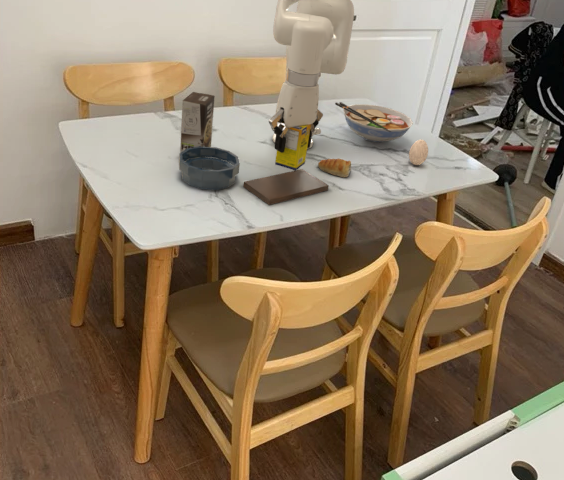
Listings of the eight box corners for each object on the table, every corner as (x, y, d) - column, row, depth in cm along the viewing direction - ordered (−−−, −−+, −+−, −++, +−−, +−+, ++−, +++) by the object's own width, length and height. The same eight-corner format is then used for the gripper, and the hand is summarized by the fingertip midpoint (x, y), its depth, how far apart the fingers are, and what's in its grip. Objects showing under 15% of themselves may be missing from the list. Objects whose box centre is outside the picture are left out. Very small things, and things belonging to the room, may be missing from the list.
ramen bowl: (424, 148, 197) (431, 124, 192) (372, 157, 185) (378, 131, 180) (373, 121, 213) (379, 98, 208) (323, 127, 201) (327, 103, 196)
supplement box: (305, 164, 156) (311, 123, 150) (295, 171, 152) (302, 129, 146) (284, 157, 158) (290, 117, 152) (274, 164, 153) (280, 123, 147)
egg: (413, 159, 188) (419, 135, 183) (427, 166, 185) (434, 141, 180) (402, 163, 184) (409, 138, 180) (417, 169, 181) (424, 144, 177)
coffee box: (201, 162, 165) (205, 104, 156) (179, 158, 166) (181, 100, 157) (211, 151, 173) (215, 95, 164) (190, 146, 173) (192, 90, 164)
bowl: (216, 162, 167) (217, 143, 164) (248, 184, 158) (250, 165, 155) (167, 171, 158) (168, 151, 155) (199, 195, 149) (200, 175, 146)
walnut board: (301, 173, 168) (302, 168, 167) (327, 190, 161) (328, 185, 160) (243, 186, 156) (243, 181, 155) (269, 205, 150) (269, 199, 149)
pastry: (315, 172, 170) (317, 159, 168) (319, 163, 176) (321, 151, 174) (348, 179, 169) (351, 166, 167) (351, 170, 175) (353, 157, 172)
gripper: (319, 70, 150) (308, 138, 160) (263, 75, 140) (255, 147, 150) (339, 80, 145) (327, 149, 155) (284, 85, 135) (274, 159, 145)
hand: (292, 147), depth 152 cm, fingers closed on supplement box, 7 cm apart
